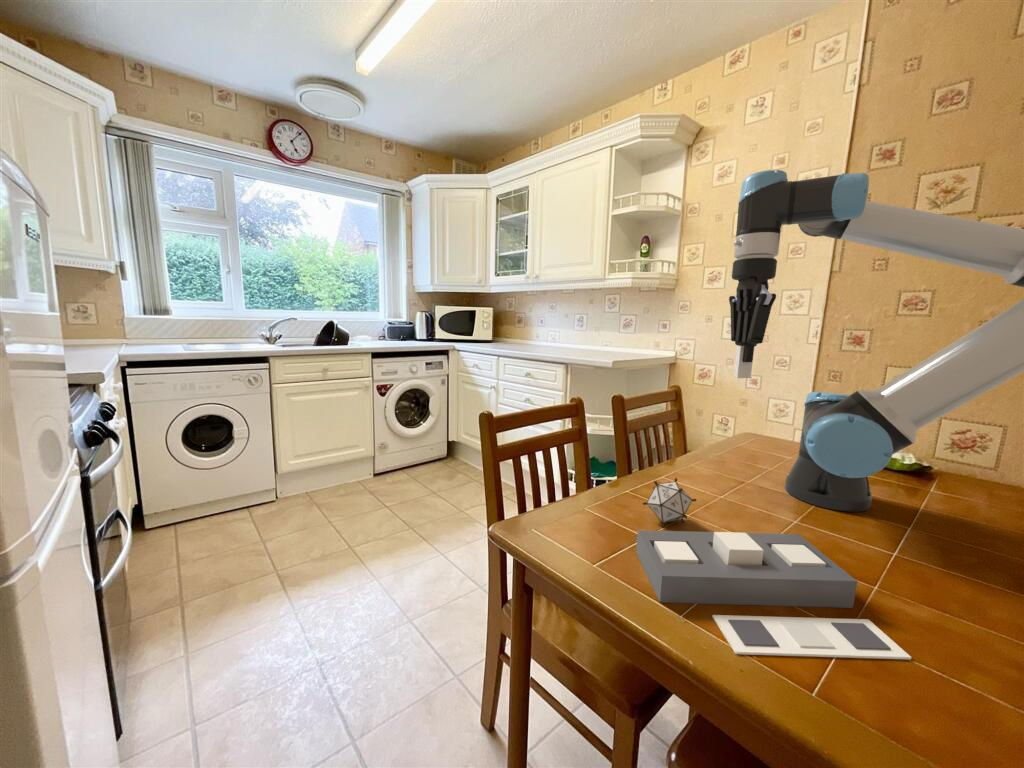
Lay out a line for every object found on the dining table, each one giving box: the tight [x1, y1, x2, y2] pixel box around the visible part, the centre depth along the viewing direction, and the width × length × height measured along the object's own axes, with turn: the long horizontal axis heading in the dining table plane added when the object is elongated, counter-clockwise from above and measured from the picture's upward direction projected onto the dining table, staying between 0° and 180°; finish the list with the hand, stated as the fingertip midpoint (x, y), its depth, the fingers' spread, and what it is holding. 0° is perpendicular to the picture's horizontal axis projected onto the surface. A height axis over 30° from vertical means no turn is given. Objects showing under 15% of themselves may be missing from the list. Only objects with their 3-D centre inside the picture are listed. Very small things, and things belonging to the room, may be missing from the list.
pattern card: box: [711, 614, 912, 660], centre depth 51 cm, size 20×6×1 cm, turn 89°
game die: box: [642, 477, 698, 528], centre depth 78 cm, size 9×8×10 cm
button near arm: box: [771, 544, 826, 567], centre depth 62 cm, size 5×5×3 cm
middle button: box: [712, 531, 764, 566], centre depth 62 cm, size 5×5×3 cm
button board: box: [635, 529, 858, 609], centre depth 62 cm, size 26×12×4 cm, turn 89°
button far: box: [654, 541, 699, 564], centre depth 62 cm, size 5×5×3 cm
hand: (742, 377), depth 85 cm, fingers closed
